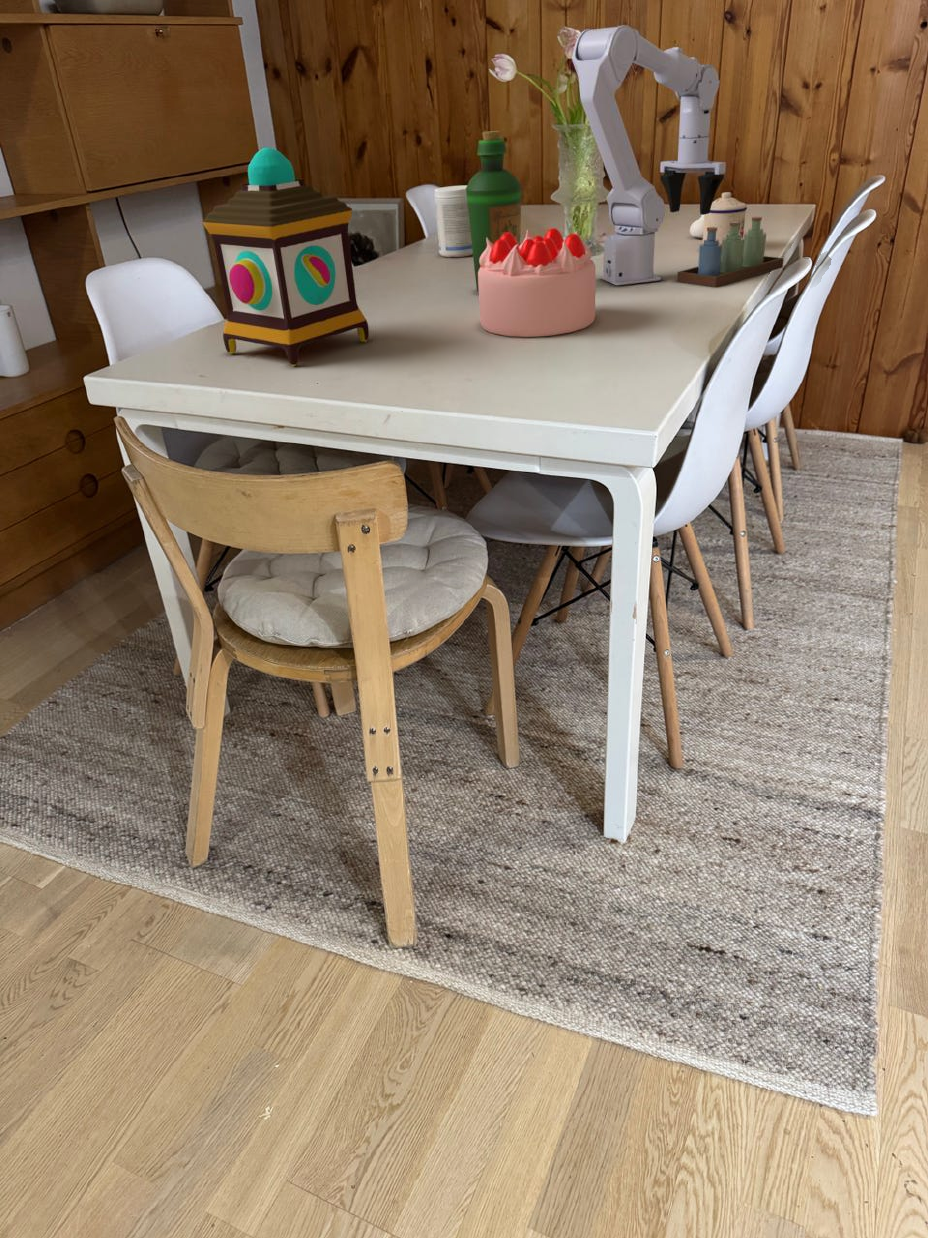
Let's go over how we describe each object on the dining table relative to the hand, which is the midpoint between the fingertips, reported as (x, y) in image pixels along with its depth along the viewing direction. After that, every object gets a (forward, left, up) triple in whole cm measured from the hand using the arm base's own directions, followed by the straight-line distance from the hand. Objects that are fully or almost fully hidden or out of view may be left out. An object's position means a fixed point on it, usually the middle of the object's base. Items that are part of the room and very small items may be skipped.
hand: (689, 212), depth 182 cm
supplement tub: (-38, +44, -11) cm, 59 cm away
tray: (+4, -12, -10) cm, 16 cm away
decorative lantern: (-83, -26, -11) cm, 88 cm away
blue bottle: (-2, -15, -10) cm, 18 cm away
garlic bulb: (+19, +30, -11) cm, 37 cm away
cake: (-42, -30, -11) cm, 53 cm away
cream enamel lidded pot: (+16, +14, -11) cm, 24 cm away
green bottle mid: (+4, -12, -10) cm, 16 cm away
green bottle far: (+10, -9, -10) cm, 17 cm away
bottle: (-41, -1, -11) cm, 42 cm away
